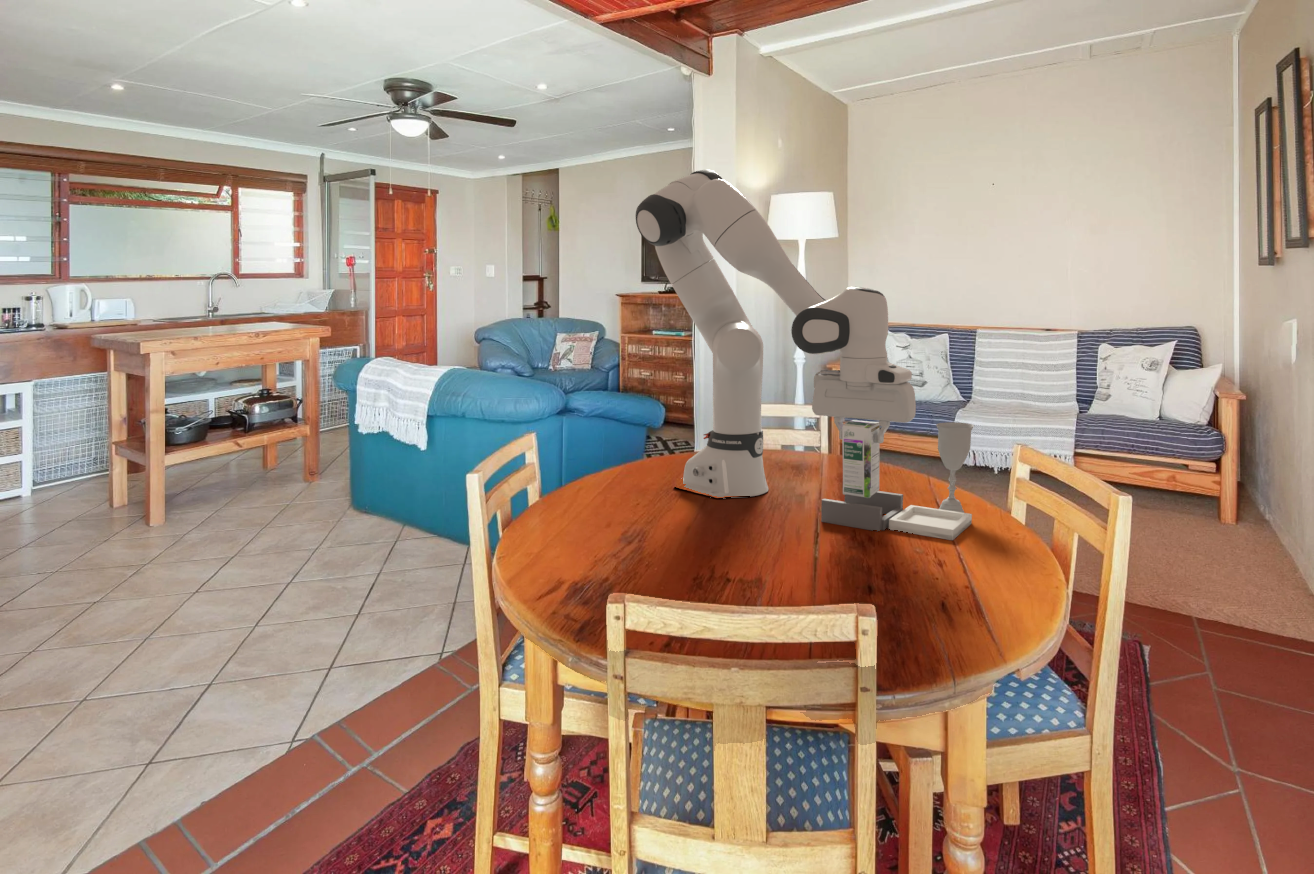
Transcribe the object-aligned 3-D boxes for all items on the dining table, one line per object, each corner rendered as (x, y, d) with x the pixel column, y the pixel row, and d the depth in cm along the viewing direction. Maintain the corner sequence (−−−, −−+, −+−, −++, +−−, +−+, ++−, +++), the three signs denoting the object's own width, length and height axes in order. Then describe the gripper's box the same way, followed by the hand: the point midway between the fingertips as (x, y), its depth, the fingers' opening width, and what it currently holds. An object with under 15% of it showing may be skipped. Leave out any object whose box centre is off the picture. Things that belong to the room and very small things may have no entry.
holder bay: (821, 521, 153) (821, 499, 152) (846, 507, 162) (847, 486, 162) (881, 532, 145) (882, 509, 144) (904, 516, 155) (905, 494, 154)
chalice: (961, 505, 161) (965, 421, 158) (975, 514, 154) (980, 427, 151) (927, 507, 161) (930, 423, 158) (940, 516, 154) (944, 428, 151)
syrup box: (841, 494, 154) (840, 425, 150) (853, 486, 158) (853, 418, 154) (869, 498, 150) (868, 427, 146) (880, 489, 155) (880, 420, 151)
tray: (888, 529, 147) (888, 519, 146) (910, 514, 156) (910, 504, 156) (952, 540, 140) (953, 529, 139) (971, 523, 149) (971, 513, 148)
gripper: (807, 370, 153) (806, 438, 155) (908, 375, 140) (905, 449, 143) (820, 367, 158) (819, 433, 160) (920, 372, 145) (917, 443, 148)
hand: (861, 440), depth 151 cm, fingers closed on syrup box, 6 cm apart
